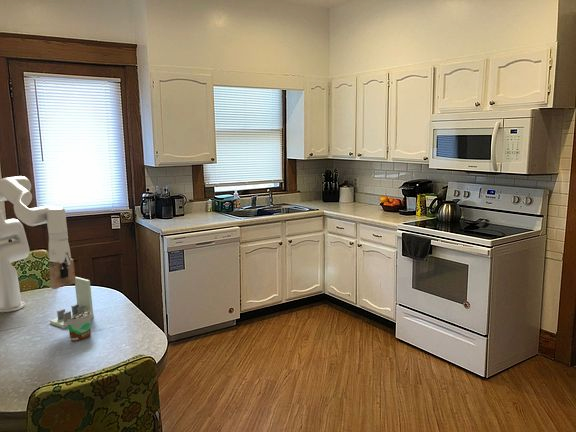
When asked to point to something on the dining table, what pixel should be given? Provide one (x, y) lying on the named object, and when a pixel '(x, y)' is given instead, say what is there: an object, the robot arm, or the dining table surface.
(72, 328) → the food container
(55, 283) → the wooden block
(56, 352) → the dining table surface
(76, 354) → the dining table surface
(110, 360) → the dining table surface
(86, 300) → the hinge base
